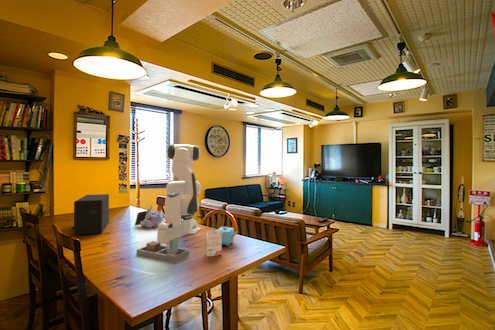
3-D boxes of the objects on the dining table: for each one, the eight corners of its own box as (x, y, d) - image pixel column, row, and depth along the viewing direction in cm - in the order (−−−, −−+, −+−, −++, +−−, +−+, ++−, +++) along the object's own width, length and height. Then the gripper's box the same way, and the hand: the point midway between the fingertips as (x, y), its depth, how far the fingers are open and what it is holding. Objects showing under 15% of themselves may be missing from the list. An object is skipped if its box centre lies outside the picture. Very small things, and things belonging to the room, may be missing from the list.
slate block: (171, 250, 144) (172, 236, 144) (178, 251, 142) (178, 237, 142) (166, 253, 140) (166, 238, 140) (173, 254, 138) (173, 239, 138)
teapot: (234, 248, 157) (234, 230, 157) (206, 246, 161) (206, 228, 161) (239, 241, 173) (240, 224, 173) (214, 239, 176) (215, 223, 176)
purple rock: (171, 220, 210) (165, 201, 215) (149, 224, 192) (142, 203, 197) (157, 230, 219) (151, 211, 224) (135, 234, 201) (129, 214, 206)
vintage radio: (82, 224, 212) (83, 194, 212) (109, 222, 219) (109, 193, 219) (69, 236, 177) (70, 201, 177) (101, 234, 184) (101, 200, 184)
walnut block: (152, 251, 150) (152, 241, 150) (160, 252, 147) (160, 242, 147) (146, 253, 145) (146, 243, 145) (154, 255, 143) (154, 245, 143)
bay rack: (152, 249, 155) (152, 243, 154) (188, 256, 144) (188, 250, 144) (136, 255, 143) (136, 249, 143) (175, 263, 133) (175, 257, 133)
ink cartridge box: (220, 252, 150) (220, 227, 150) (221, 255, 146) (222, 230, 145) (205, 253, 148) (206, 228, 148) (206, 256, 143) (207, 231, 143)
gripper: (180, 218, 152) (179, 241, 152) (155, 225, 133) (155, 251, 133) (188, 219, 149) (188, 242, 149) (164, 227, 130) (164, 253, 130)
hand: (172, 247), depth 141 cm, fingers closed on slate block, 4 cm apart
